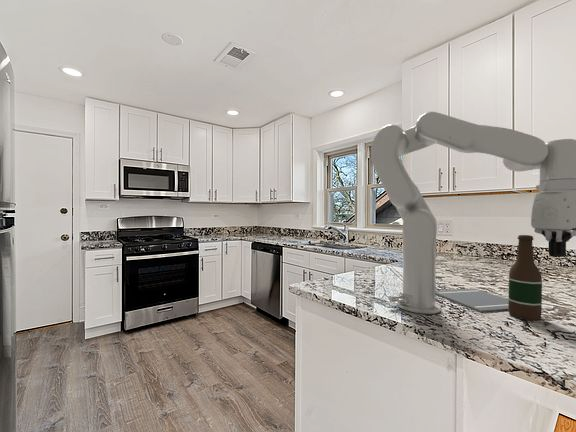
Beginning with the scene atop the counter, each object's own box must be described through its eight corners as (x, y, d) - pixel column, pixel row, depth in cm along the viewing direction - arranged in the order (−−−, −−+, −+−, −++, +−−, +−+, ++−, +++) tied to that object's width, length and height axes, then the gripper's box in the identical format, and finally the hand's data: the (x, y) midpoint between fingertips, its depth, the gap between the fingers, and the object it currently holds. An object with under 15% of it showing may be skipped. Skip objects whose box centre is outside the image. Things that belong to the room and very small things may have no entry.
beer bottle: (548, 322, 78) (550, 236, 78) (516, 320, 80) (518, 236, 80) (530, 312, 86) (532, 234, 86) (502, 310, 87) (503, 234, 87)
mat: (480, 312, 86) (480, 310, 86) (430, 292, 107) (430, 290, 107) (533, 308, 90) (533, 306, 90) (474, 290, 111) (474, 288, 111)
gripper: (518, 189, 81) (517, 252, 81) (581, 184, 66) (580, 261, 67) (539, 190, 82) (538, 252, 83) (605, 185, 68) (604, 261, 68)
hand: (556, 256), depth 75 cm, fingers closed
